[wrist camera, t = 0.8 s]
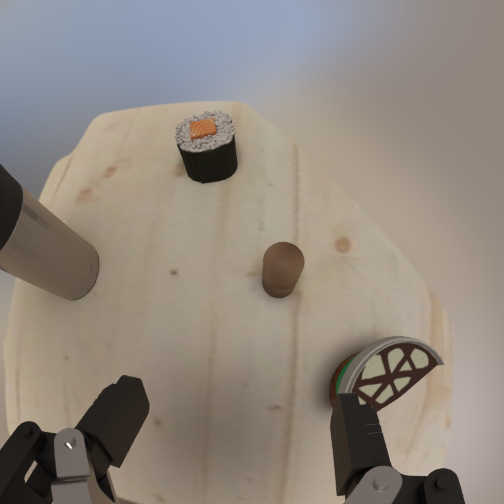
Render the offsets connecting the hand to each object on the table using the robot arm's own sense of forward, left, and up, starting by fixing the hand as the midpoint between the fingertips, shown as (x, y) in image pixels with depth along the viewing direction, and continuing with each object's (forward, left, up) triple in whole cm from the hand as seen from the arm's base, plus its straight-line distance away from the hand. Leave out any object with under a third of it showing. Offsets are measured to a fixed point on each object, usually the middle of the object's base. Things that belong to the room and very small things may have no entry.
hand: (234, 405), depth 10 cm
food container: (+12, +4, -23) cm, 26 cm away
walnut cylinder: (-1, +11, -22) cm, 25 cm away
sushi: (-17, +25, -23) cm, 38 cm away
